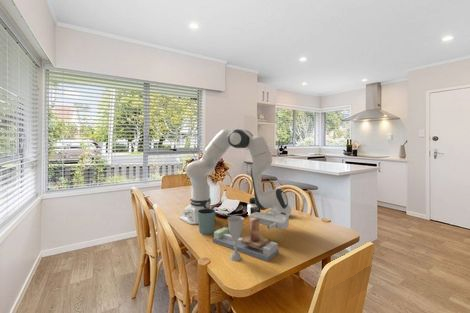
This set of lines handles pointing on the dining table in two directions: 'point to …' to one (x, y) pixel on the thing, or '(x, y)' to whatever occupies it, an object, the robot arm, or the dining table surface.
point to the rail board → (226, 240)
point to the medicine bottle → (252, 206)
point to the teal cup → (206, 220)
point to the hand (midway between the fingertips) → (260, 224)
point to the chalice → (235, 233)
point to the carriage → (254, 235)
